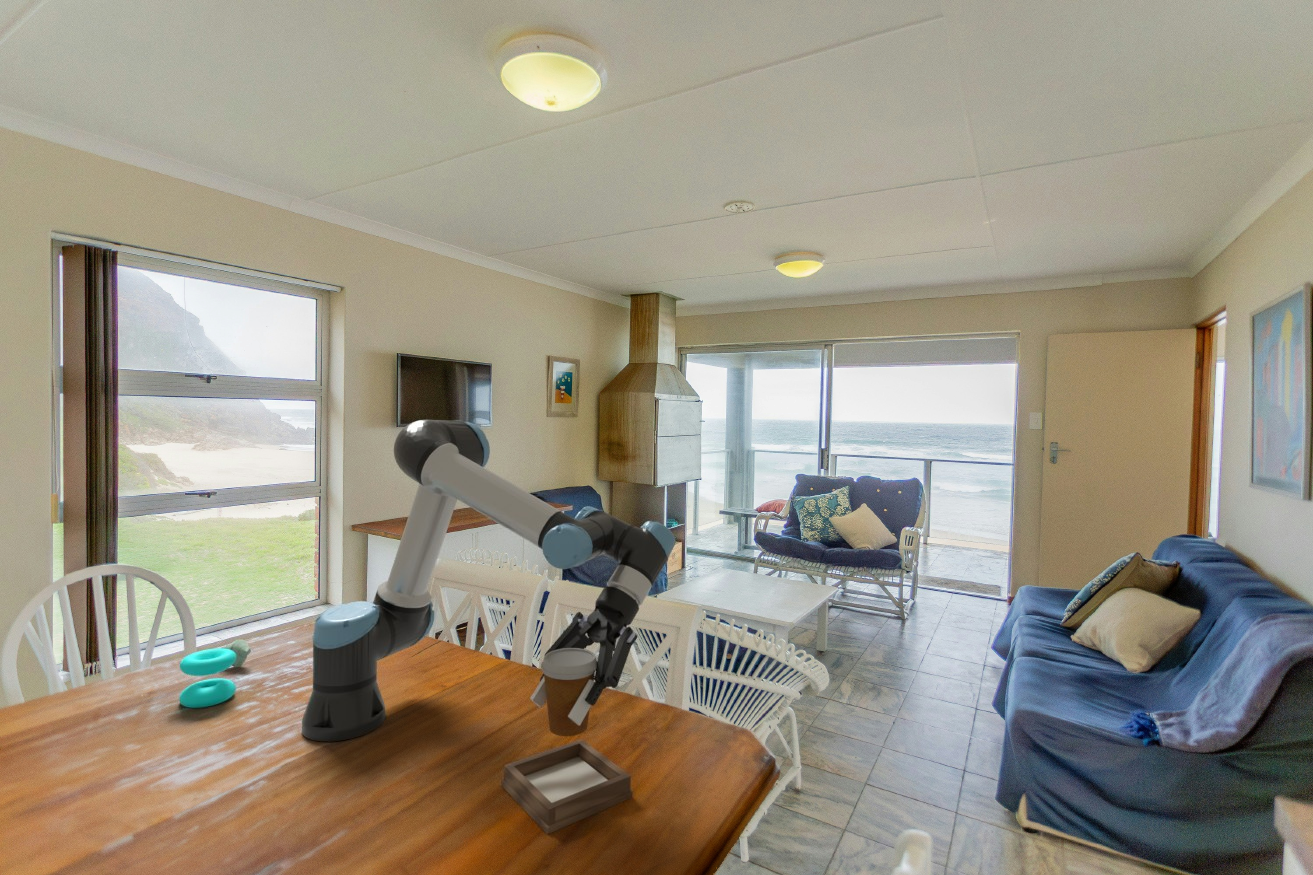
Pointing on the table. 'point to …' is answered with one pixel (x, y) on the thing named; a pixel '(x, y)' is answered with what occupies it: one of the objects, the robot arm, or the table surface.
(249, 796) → the table surface
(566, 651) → the disposable coffee cup
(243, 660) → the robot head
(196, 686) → the donuts
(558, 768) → the holder
